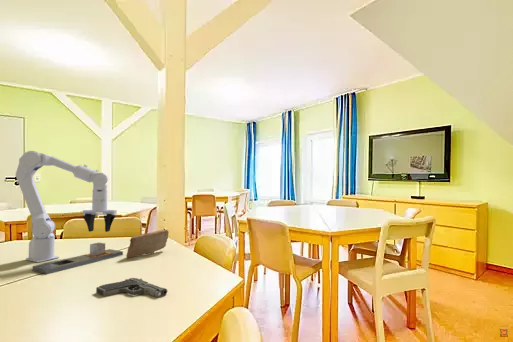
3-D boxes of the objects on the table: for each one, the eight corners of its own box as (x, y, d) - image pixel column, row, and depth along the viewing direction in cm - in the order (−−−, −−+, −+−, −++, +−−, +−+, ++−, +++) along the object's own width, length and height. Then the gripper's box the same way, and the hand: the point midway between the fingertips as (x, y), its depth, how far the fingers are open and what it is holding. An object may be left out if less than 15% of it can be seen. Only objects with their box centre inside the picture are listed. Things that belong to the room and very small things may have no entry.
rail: (32, 270, 105) (32, 265, 105) (109, 252, 131) (109, 248, 131) (45, 274, 101) (46, 269, 101) (122, 254, 127) (122, 250, 127)
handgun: (128, 300, 74) (168, 286, 83) (96, 286, 84) (135, 274, 93) (128, 310, 73) (169, 295, 83) (96, 295, 84) (135, 282, 93)
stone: (124, 258, 123) (128, 261, 120) (125, 236, 121) (128, 238, 119) (165, 247, 136) (169, 250, 134) (165, 227, 135) (170, 230, 132)
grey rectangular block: (89, 259, 121) (90, 243, 121) (98, 256, 124) (98, 241, 124) (96, 260, 119) (96, 244, 119) (105, 257, 123) (105, 242, 123)
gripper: (77, 200, 126) (77, 232, 125) (110, 200, 125) (109, 233, 124) (88, 199, 133) (88, 229, 132) (119, 199, 132) (118, 230, 131)
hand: (99, 231), depth 129 cm, fingers open, 7 cm apart
